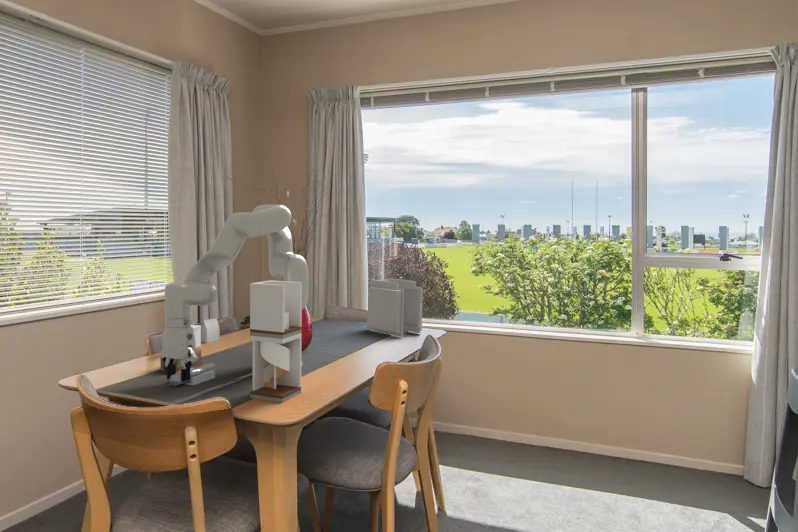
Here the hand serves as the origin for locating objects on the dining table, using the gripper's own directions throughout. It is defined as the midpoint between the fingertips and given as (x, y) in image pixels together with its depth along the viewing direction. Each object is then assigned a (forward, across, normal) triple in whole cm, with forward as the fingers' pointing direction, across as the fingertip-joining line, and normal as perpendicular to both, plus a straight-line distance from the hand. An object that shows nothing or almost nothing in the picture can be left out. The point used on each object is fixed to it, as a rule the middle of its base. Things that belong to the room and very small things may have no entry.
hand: (178, 378), depth 175 cm
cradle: (+3, 0, -6) cm, 7 cm away
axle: (+2, 0, -6) cm, 7 cm away
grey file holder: (+4, -23, -118) cm, 120 cm away
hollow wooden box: (+3, +14, -16) cm, 22 cm away
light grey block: (+4, +41, -60) cm, 73 cm away
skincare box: (+4, +28, -36) cm, 45 cm away
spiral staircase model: (+4, -31, -8) cm, 32 cm away
